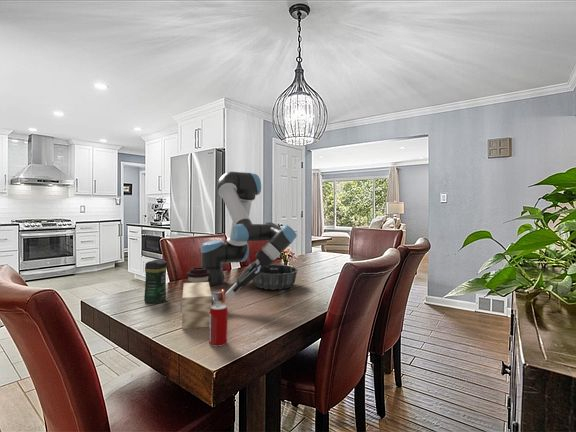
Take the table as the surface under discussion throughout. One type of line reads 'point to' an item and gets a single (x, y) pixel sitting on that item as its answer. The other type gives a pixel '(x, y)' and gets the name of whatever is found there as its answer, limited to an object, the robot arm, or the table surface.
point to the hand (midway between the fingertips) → (227, 296)
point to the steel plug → (212, 303)
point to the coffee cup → (198, 275)
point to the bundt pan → (276, 277)
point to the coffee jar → (155, 281)
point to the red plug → (219, 296)
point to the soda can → (218, 325)
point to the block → (196, 305)
